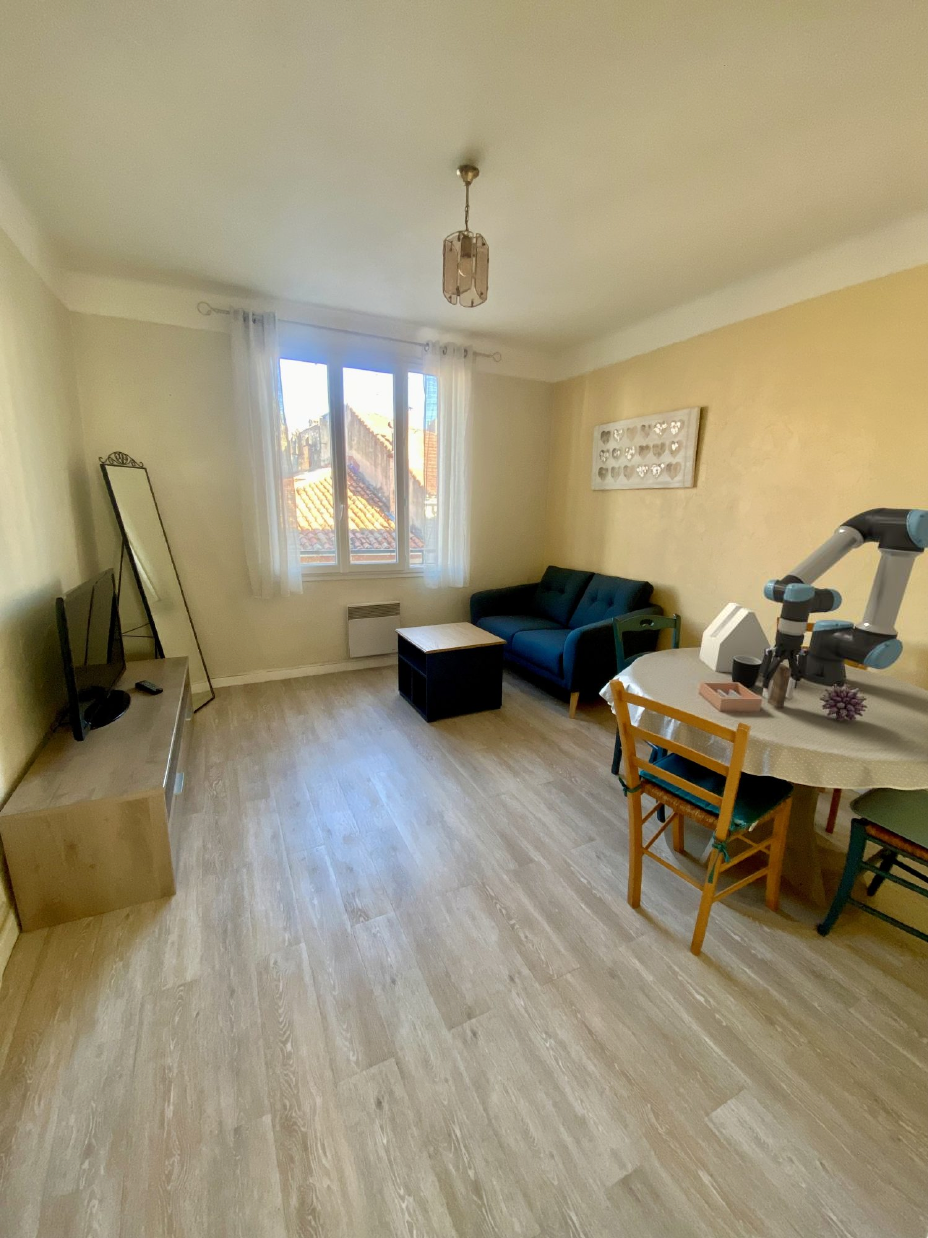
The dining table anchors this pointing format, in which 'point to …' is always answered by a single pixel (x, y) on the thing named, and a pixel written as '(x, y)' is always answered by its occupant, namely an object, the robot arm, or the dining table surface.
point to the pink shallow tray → (730, 696)
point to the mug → (745, 670)
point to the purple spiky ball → (843, 702)
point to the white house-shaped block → (732, 638)
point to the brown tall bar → (779, 686)
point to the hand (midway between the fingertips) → (776, 697)
